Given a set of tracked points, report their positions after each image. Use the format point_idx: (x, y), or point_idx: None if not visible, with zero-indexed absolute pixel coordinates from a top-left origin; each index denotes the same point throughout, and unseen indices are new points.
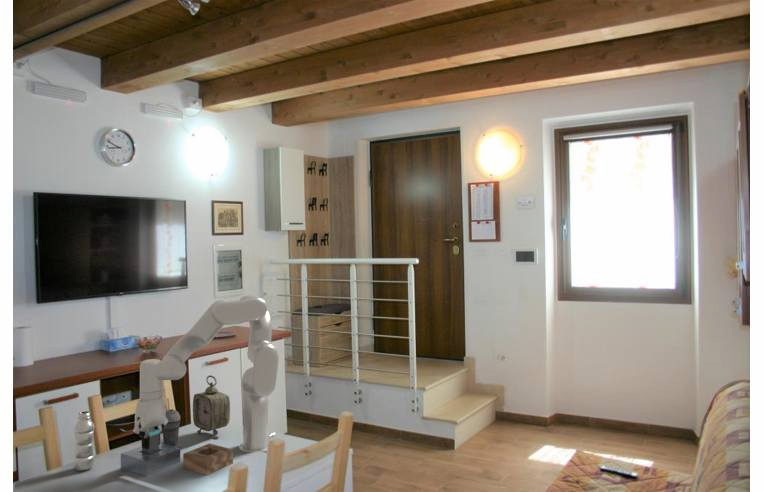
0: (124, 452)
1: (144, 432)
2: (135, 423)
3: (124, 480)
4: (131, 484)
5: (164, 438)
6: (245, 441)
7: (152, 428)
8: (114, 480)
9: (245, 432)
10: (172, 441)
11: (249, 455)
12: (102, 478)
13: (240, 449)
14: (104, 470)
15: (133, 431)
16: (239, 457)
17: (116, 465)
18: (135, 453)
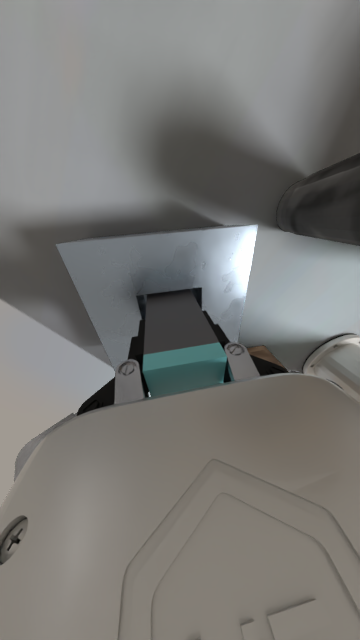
0: (76, 247)
1: (147, 380)
2: (7, 524)
3: (78, 317)
4: (87, 347)
5: (320, 200)
6: (331, 374)
7: (222, 362)
8: (51, 298)
9: (352, 391)
10: (312, 236)
11: (298, 370)
12: (12, 253)
13: (314, 358)
14: (25, 171)
15: (24, 455)
16: (287, 368)
17: (87, 160)
18: (116, 301)
